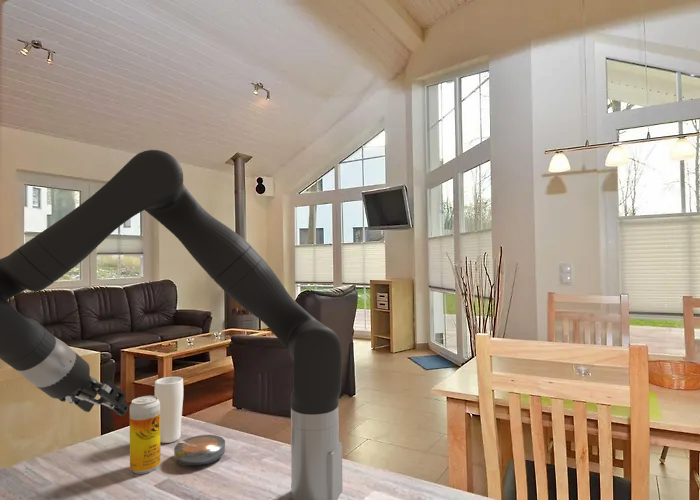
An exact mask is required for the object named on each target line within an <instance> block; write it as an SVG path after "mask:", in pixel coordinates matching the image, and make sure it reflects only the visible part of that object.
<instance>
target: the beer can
mask: <svg viewBox="0 0 700 500" xmlns="http://www.w3.org/2000/svg"><path fill="white" fill-rule="evenodd" d="M160 464H161V442H160V401H159V400H158V397H157V396H155V395H143V396H139V397H136V398H134V399H132V400H131V403H130V404H129V468H130V470H131V471H132V472H133V473H135V474H137V475H138V474H139V475H140V474H141V475H142V474H147V473H150V472H153V471H155V470H157V468H158V466H159V465H160Z"/></svg>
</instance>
